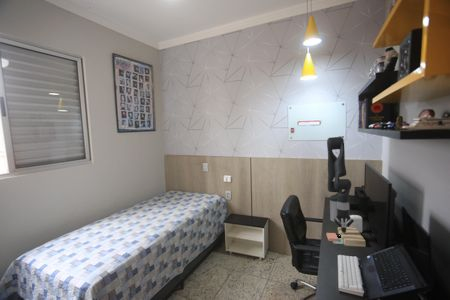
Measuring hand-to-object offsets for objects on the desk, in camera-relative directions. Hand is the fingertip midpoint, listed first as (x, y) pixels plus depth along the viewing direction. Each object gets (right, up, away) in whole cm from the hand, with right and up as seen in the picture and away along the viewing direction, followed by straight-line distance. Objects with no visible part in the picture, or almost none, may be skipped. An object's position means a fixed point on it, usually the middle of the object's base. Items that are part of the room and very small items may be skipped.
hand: (343, 232), depth 156 cm
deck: (+5, -5, 0) cm, 7 cm away
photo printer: (+14, -4, +11) cm, 18 cm away
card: (-7, -3, +2) cm, 8 cm away
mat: (-4, -5, +2) cm, 7 cm away
